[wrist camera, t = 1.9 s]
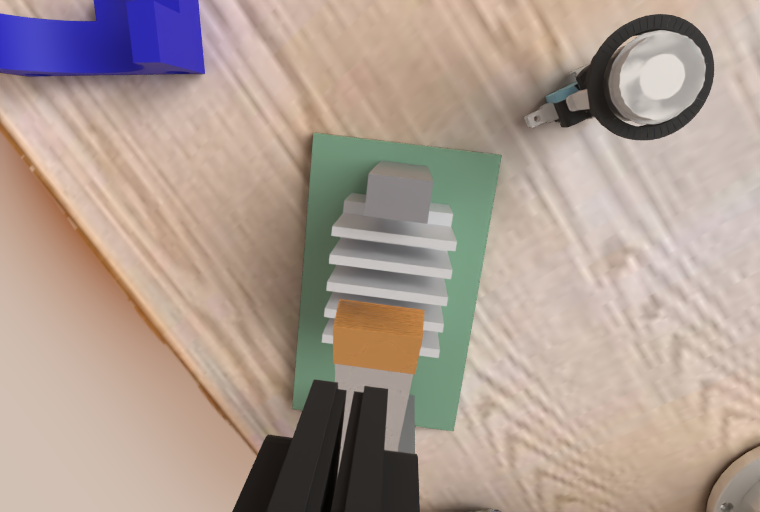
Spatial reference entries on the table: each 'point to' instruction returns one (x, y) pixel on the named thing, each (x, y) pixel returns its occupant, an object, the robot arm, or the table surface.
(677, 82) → the push button
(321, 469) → the robot arm
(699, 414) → the table surface
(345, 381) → the hinged grey bar
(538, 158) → the table surface
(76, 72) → the blue cradle bracket
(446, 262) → the board
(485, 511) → the mineral rock
